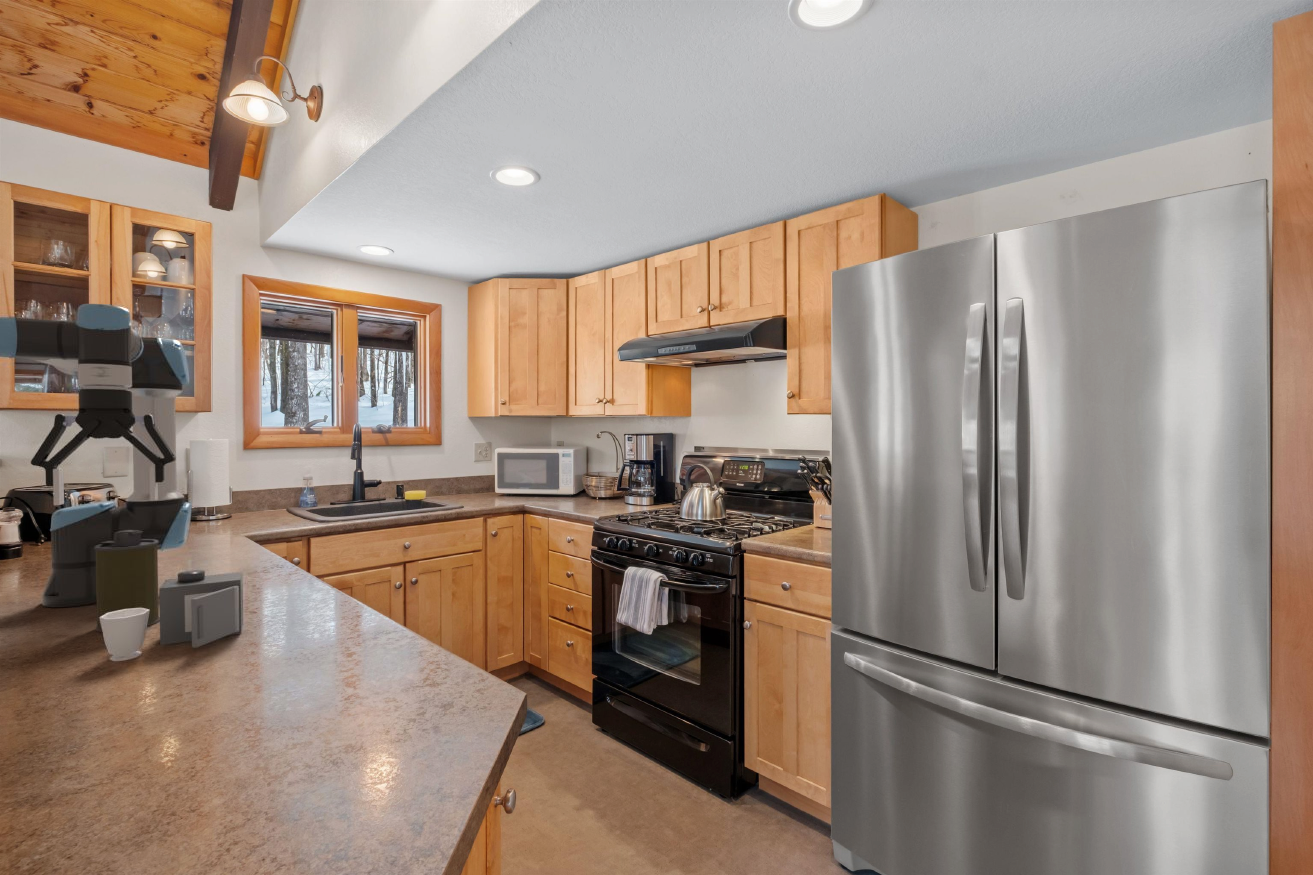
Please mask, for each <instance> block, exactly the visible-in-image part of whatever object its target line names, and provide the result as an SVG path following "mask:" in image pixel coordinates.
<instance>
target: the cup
mask: <svg viewBox="0 0 1313 875" xmlns="http://www.w3.org/2000/svg"><path fill="white" fill-rule="evenodd" d="M149 611H150V610H149V609H145V608H131V609H122V610H118V611H113V612H109V613H106V614H105V615H103V616H101V617H99V618H100V623H101V627H102V631H103V632H102V634H103V641H104V644H105V647H106V649H107V651H108V654H109V655H112V656H110V657H109V660H110V661H113V662H122V661H127V660H128V661H129V660H132V659H135V658H138V657H139V656H141V655H142V651H140V649H142V648H143V646H144V645H143V644H144V641H145V638H146V634H147V629H148V626H147V623H148V617H149Z"/></svg>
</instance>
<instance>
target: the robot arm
mask: <svg viewBox="0 0 1313 875" xmlns="http://www.w3.org/2000/svg"><path fill="white" fill-rule="evenodd" d="M76 317H77V318H76V321H73V320H72V321H71V320H55V319H40V318H39V319H37V318H26V317H25V318H24V317H15V316H0V358H8V359H28V360H33V361H36V362H40V363H43V364H47V365H49V366H53V368H55V369H56V370H58V371H59V372H61V373H63V374H66V375H70V376H73V377H77V378H78V379H77V380H78V384H77V385H79V387H82V389H81V388H80V389H79V390H78V393H77V394H78V413H77V415H67V414H62V413H61V414H60V413H58V414H56V415H55V416H54V421H53V426H52V428H51V430H50V431H49V433H48V434H47V436H46V437H45V439H43V440H44V441H43V442H42V444H41V445H40V447H39V448H38V449H37V451H36V453H35V454H34V455H33V457H32V459H31V460H30V464H31V465H32V466H36V467H39V468H43V469H44V471H45V485H46V487H53V488H52V490H53V493H52V494H53V506H60V505H64V504H65V483H64V480H65V478H64V476H65V475H64V473H65V472H64V468H63V467H62V468H59V467H58V466H60V465H61V464H62V463H63V462H64V461H65V460H67V458H69V456H71V455H72V454H73V453H74V452H75V451H76V450H77V449H78V448H80V447H81V445H82V444H84V443H85V442H86V441H87V440H89V439H90V438H92V439H99V440H101V439H105V438H106V439H120V438H124V439H125V440H126V441H128V442H129V443H130V444H132V463H133V464H132V466H133V471H132V472H133V478H132V479H133V492H132V493H131V494H130V495H129V496H128V497H126V498H125V505H122V506H117V503H116V502H115V501H114V500H109V501H106V500H105V501H99V502H98V501H97V502H91V503H86V504H85V503H84V504H79V505H74V506H73V505H72V506H69V507H64V508H60V509H57V510H56V511H54V512H53V513H52V514H51V521H50V529H49V531H50V545H51V573H50V575H49V577H48V580H47V583H46V585H45V587H44V590H43V593H42V595H41V596H42V597H41V600H42V601H41V602H42V603H41V604H42V606H43V607H46V608H69V607H71V608H72V607H77V606H85V605H86V606H87V605H92V604H97V593H96V550H95V549H94V547H95V546H96V545H98V544H99V543H101V542H106V541H113V538H114V533H115V532H119V531H125V530H140V531H142V534H141V539H155V540H158V541H159V542H158V544H157V551H162V552H163V551H164V550H171V549H179V548H180V547H181V548H182V546H183V545H185V543H186V541H187V539H188V535H189V530H190V525H191V517H192V507H193V506H192V503H190V502H187V501H185V495H184V494H182V493H181V492H180V491H178V489H177V484H178V483H177V442H176V441H177V440H176V438H177V437H176V436H177V435H176V433H177V432H176V431H177V430H176V397H178V396H179V395H180V394H182V393H183V386H187V385H189V383H190V372H189V364H188V360H187V356H186V351H185V349H184V347H183V344H182V343H181V342H180V341H179V340H176V339H173V338H172V339H171V338H163V337H147V336H141V335H140V334H139V333H138V332H137V331H136V330H135V329H134V328H132V325H133V323H132V320H131V319H132V318H131V312H130V311H129V309H128V308H125V307H122V306H118V305H114V304H113V305H111V304H103V303H83V304H81V305H79V306H78V308H77V316H76ZM73 423H76V424H77V425H78V426H79V427H80V429H81V430H80V431H79V432H78V433H77V434H76V435H75V436H74V437H72V439H70V441H69V442H67V444H65V445H64V446H63V447H61V449H60V450H59V451H57V453H56V454H54V455H52V457H51V458H49V460H48V457H49V456H50V455H51V453H52V452H53V450H54V448H55V447H56V445H57V444H58V442H59V441H60V439H61V438H62V436H63V435H64V433H65V431H66V430H67V428H68V427H70V426H72V425H73ZM131 429H132V430H131Z"/></svg>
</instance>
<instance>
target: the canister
mask: <svg viewBox="0 0 1313 875" xmlns="http://www.w3.org/2000/svg"><path fill="white" fill-rule="evenodd" d="M141 534H142V531H140V530H125V531H119V532H115V533H114V538H113V541H106V542H101V543H99V544H98V545H96V546H95V547H94V549H95V550H96V593H97V603H96V627H95V631H96V632H99V633H103V631H102V627H101V623H100V618H99V617H101V616H103V615H105V614H106V613H109V612H113V611H118V610H122V609H131V608H145V609H149V610H150V611H149V617H148V623H147V627H150V626H152V625H155V624H157V623H158V622H160V608H159V566H158V565H159V563H158V561H159V560H158V559H159V558H158V557H159V556H158V550H157V544H158V542H159V541H158V540H155V539H141Z"/></svg>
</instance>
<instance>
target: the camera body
mask: <svg viewBox="0 0 1313 875" xmlns="http://www.w3.org/2000/svg"><path fill="white" fill-rule="evenodd" d="M243 578H244V577H243V571H238V572H229V573H220V574H209V575H206V571H205V570H203V569H194V570H187V571H182V572H179V573H177V578H170V579H165V580H164V581H163V583H162V584H161V586H160V587H158V603H159V617H160V621H159V642H160V643H159V645H160V646H164V645H172V644H177V643H178V644H179V643H185V642H192V622H191V599H193V598H196V597H200V596H203V595H206V594H209V593H213V592H216V591H219V590H222V589H226V588H229V587H231V586H238V588H239V631H238V632H234V633H232V634H229V635H227V637H229V636H232V635H233V636H234V635H240V634H242V631H243V626H244V587H243V586H244V582H243V581H244V580H243Z"/></svg>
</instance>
